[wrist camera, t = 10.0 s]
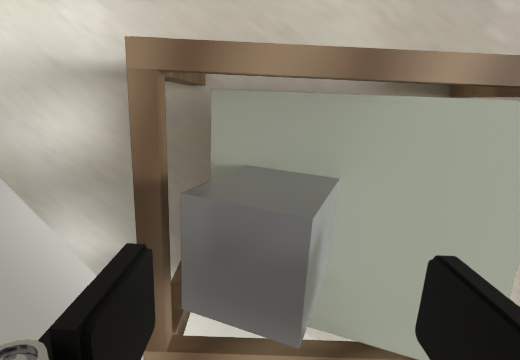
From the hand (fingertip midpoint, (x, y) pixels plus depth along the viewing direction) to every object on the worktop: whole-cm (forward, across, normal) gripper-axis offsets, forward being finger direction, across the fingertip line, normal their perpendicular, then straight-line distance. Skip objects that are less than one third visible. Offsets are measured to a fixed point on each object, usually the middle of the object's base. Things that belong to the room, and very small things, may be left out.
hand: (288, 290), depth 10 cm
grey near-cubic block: (+7, -1, 0) cm, 7 cm away
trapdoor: (+11, -5, 0) cm, 12 cm away
